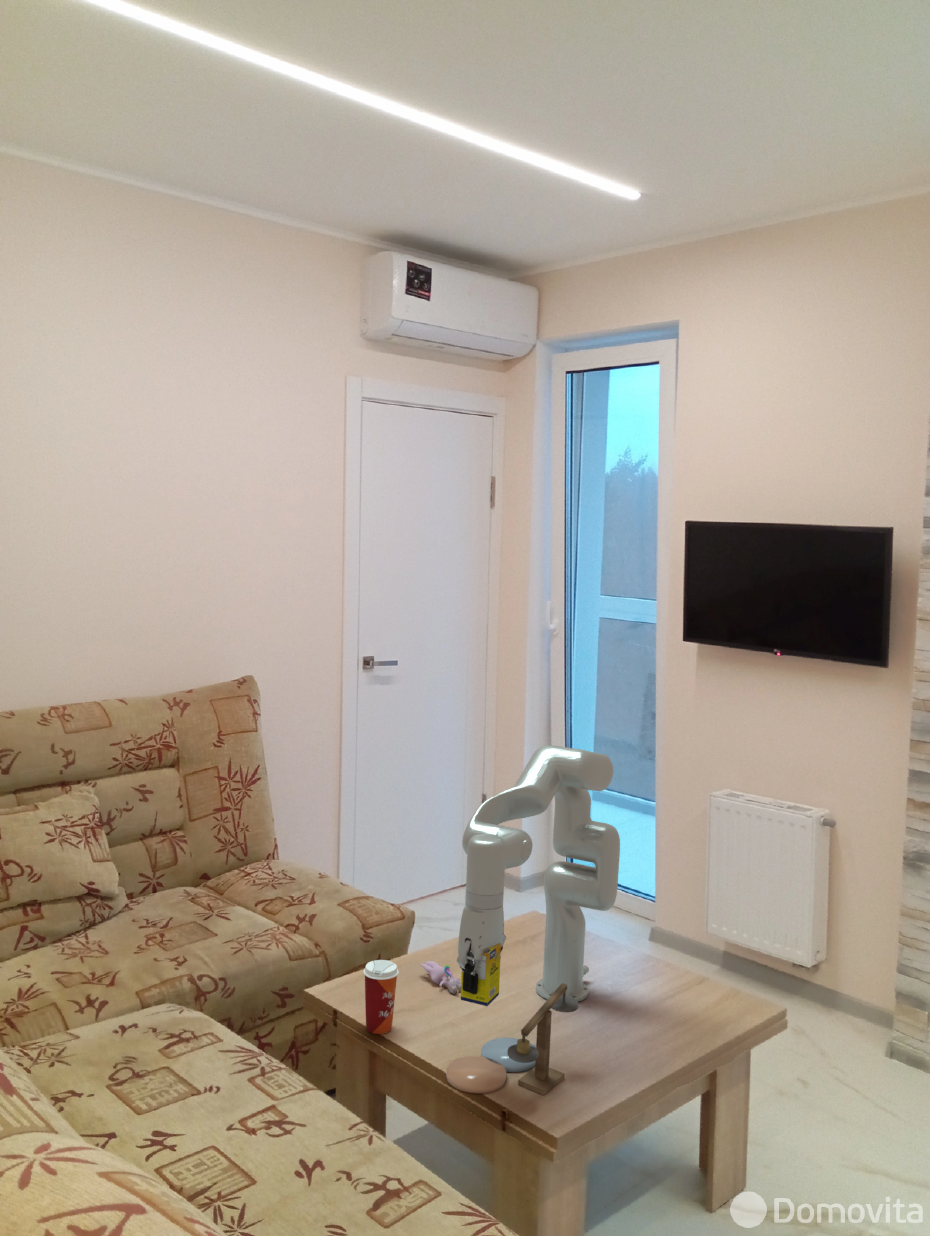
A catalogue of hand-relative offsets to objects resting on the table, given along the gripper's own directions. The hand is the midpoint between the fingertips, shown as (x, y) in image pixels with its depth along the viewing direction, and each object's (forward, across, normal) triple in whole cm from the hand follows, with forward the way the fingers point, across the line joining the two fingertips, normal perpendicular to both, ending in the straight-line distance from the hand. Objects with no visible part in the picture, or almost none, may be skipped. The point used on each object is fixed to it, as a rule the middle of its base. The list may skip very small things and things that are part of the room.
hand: (480, 985), depth 200 cm
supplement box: (+3, 0, 0) cm, 3 cm away
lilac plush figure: (+19, -29, -30) cm, 46 cm away
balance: (+19, -7, +11) cm, 23 cm away
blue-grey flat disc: (+19, -11, +1) cm, 22 cm away
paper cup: (+19, -3, -28) cm, 34 cm away
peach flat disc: (+19, 0, 0) cm, 19 cm away
